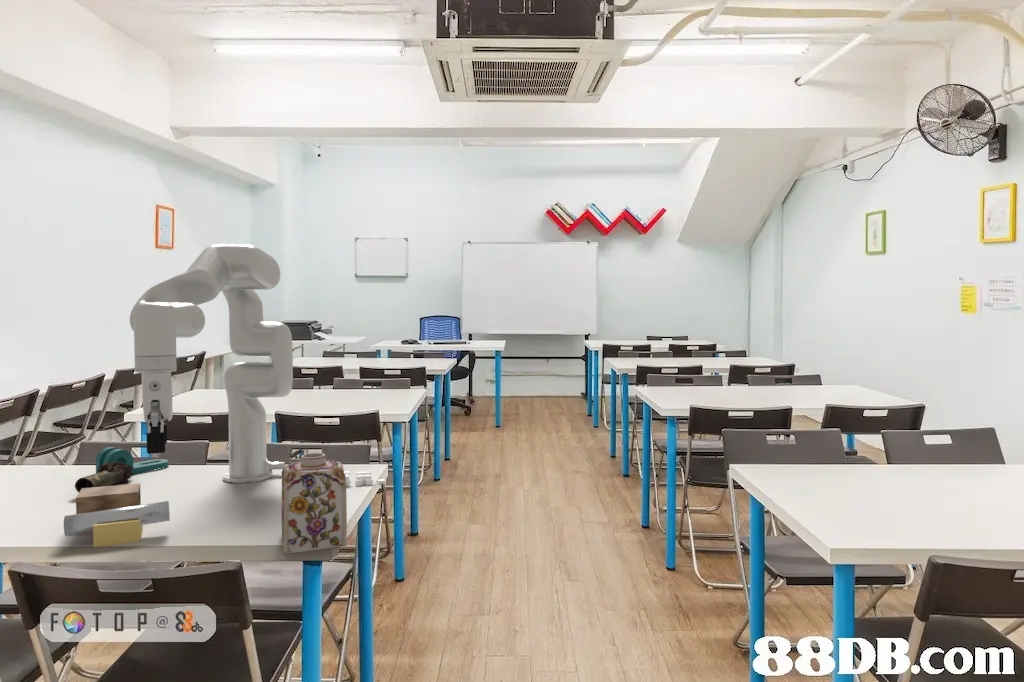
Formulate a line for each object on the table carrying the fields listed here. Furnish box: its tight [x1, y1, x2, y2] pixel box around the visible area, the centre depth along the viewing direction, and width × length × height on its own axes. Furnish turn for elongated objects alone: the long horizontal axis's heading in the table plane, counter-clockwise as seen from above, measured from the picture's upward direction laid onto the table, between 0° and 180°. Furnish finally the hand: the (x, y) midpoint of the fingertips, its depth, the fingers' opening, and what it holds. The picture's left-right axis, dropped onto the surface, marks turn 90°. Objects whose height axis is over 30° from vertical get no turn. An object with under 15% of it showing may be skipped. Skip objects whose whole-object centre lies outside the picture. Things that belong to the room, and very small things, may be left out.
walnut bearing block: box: [75, 482, 142, 536], centre depth 145 cm, size 11×8×8 cm
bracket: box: [95, 446, 169, 475], centre depth 194 cm, size 18×7×8 cm, turn 145°
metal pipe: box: [74, 461, 135, 493], centre depth 176 cm, size 18×7×6 cm, turn 177°
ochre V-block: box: [92, 519, 144, 548], centre depth 137 cm, size 8×7×4 cm
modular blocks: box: [344, 470, 386, 487], centre depth 181 cm, size 20×7×4 cm, turn 104°
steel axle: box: [63, 500, 171, 538], centre depth 137 cm, size 18×4×4 cm, turn 115°
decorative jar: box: [280, 452, 348, 554], centre depth 135 cm, size 12×12×18 cm
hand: (157, 448), depth 139 cm, fingers open, 9 cm apart
